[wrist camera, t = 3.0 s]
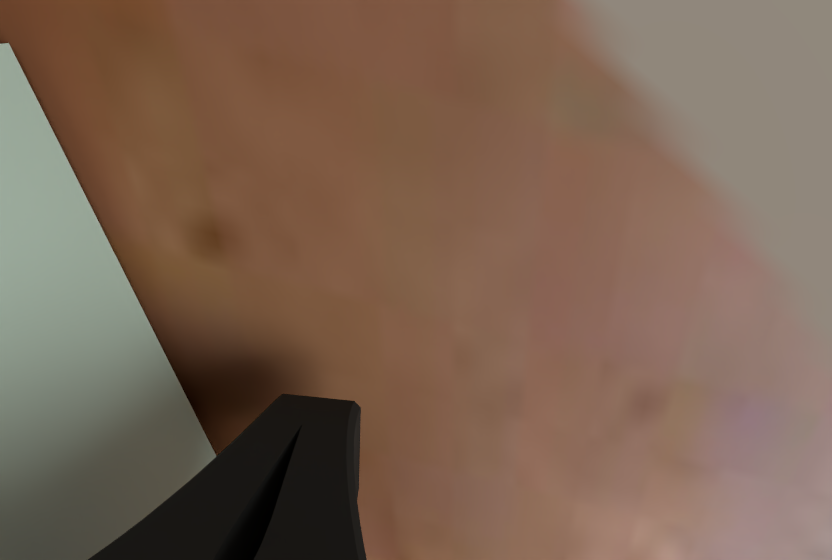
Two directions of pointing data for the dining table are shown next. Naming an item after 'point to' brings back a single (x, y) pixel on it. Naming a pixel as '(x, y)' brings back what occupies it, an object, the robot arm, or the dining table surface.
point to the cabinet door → (74, 361)
